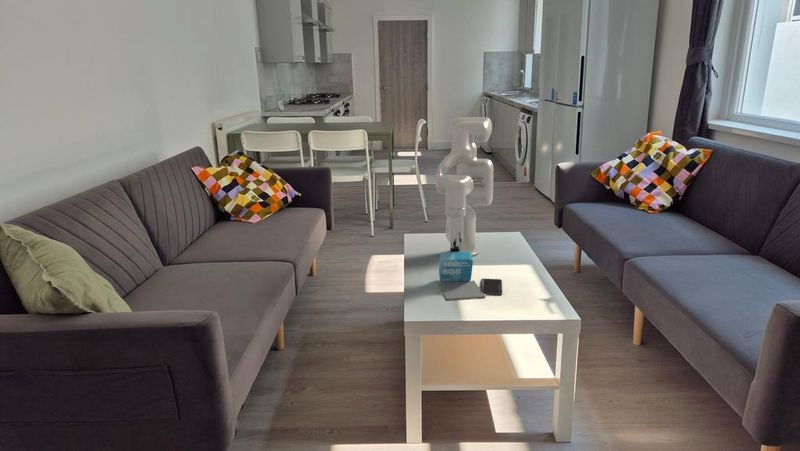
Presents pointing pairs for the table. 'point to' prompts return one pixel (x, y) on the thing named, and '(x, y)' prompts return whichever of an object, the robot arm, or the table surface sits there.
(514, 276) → the table surface
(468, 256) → the data package
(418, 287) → the table surface
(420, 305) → the table surface
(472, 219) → the robot arm
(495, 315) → the table surface
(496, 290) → the phone
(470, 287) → the mat
